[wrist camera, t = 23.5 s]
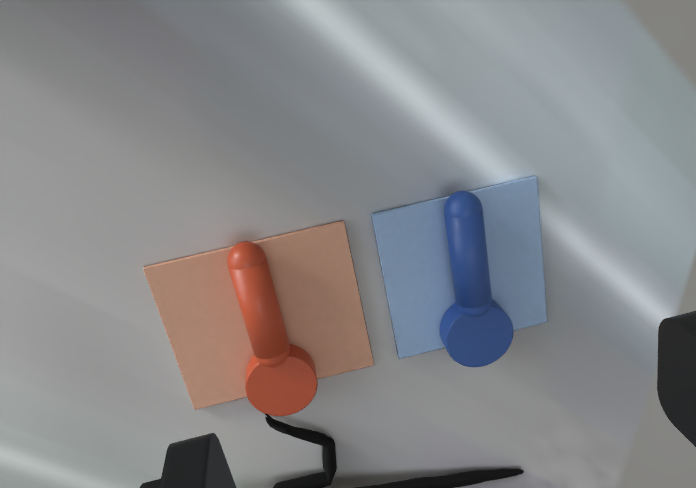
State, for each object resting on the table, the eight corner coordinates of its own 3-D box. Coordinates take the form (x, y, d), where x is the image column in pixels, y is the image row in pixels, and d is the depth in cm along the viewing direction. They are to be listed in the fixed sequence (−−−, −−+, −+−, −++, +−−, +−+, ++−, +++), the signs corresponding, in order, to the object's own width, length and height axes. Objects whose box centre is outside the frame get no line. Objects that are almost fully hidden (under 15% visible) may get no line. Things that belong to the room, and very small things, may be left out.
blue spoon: (418, 195, 40) (428, 206, 38) (490, 178, 40) (505, 188, 38) (443, 361, 45) (454, 380, 43) (507, 345, 46) (520, 364, 43)
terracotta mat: (143, 266, 40) (142, 269, 39) (343, 220, 40) (344, 222, 40) (195, 406, 44) (194, 410, 44) (373, 362, 45) (374, 365, 45)
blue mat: (371, 213, 41) (372, 215, 40) (534, 175, 41) (537, 176, 41) (398, 356, 45) (399, 359, 45) (545, 319, 46) (547, 322, 45)
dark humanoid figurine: (579, 474, 43) (234, 516, 37) (542, 531, 48) (234, 574, 43) (533, 386, 49) (231, 410, 44) (504, 445, 54) (231, 473, 49)
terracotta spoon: (204, 244, 39) (200, 259, 37) (279, 227, 40) (281, 241, 37) (255, 408, 45) (255, 430, 42) (321, 392, 45) (325, 413, 42)
